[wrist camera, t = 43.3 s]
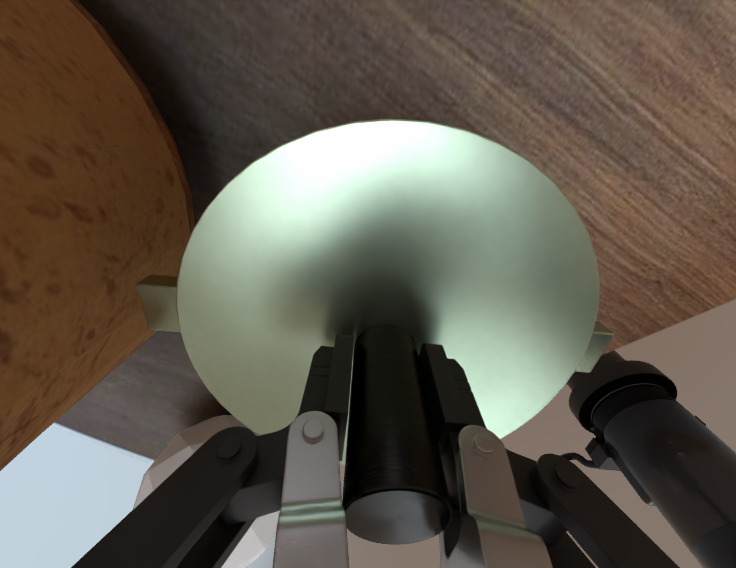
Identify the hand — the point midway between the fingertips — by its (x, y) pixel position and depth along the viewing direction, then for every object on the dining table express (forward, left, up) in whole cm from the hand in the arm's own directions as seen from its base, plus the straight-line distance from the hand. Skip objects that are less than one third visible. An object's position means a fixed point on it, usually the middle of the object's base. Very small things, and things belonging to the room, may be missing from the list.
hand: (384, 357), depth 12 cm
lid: (0, 0, -1) cm, 1 cm away
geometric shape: (-27, +13, -15) cm, 34 cm away
